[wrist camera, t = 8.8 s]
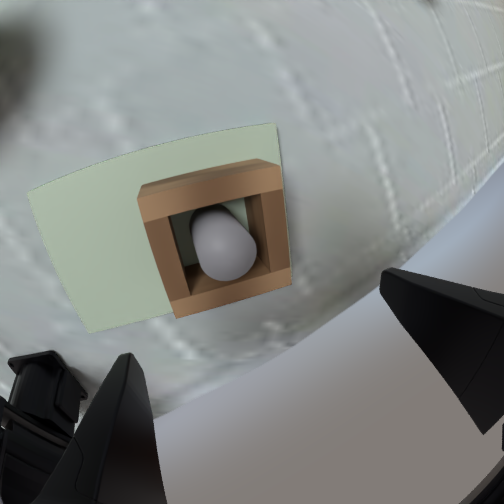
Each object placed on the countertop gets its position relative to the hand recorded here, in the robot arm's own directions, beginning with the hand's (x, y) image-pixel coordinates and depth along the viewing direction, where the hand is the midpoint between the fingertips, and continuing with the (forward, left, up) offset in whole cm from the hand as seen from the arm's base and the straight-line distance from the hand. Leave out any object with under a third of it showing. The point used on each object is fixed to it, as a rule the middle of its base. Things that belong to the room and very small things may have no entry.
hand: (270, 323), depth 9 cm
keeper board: (-3, 0, -11) cm, 11 cm away
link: (0, 0, -10) cm, 10 cm away
